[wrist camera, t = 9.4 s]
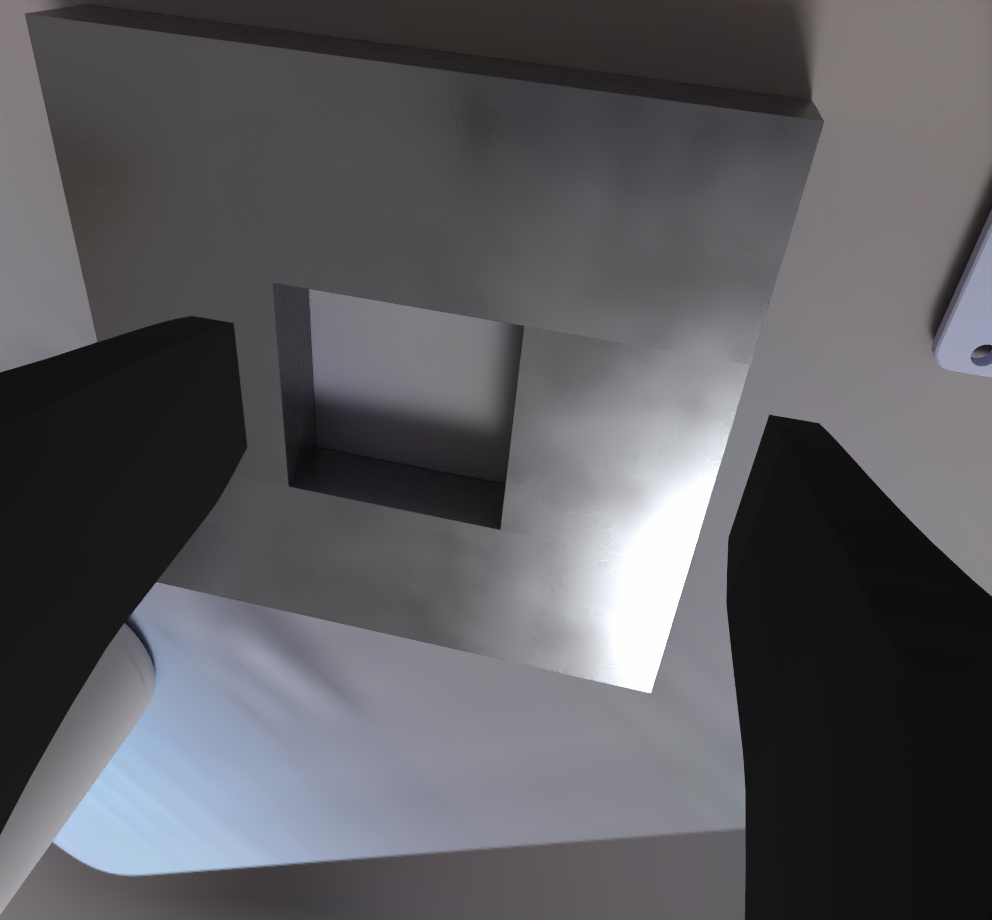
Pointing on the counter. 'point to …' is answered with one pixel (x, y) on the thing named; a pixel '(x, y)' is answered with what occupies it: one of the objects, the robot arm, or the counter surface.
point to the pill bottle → (76, 755)
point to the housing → (439, 307)
